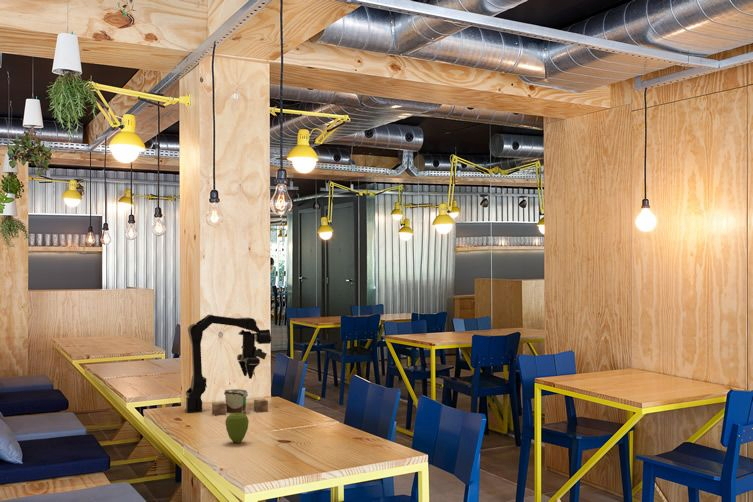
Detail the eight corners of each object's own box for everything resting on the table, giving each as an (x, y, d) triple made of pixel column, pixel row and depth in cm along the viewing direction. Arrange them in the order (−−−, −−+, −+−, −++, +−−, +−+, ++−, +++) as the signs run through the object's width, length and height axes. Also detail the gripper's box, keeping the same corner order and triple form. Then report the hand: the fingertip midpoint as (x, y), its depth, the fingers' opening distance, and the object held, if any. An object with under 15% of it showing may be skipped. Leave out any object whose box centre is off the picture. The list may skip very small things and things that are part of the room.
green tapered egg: (223, 441, 270) (223, 410, 271) (246, 439, 273) (246, 408, 274) (227, 446, 262) (227, 414, 262) (250, 444, 265) (250, 412, 266)
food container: (253, 412, 324) (253, 390, 324) (244, 415, 319) (244, 392, 319) (233, 410, 331) (233, 388, 331) (224, 412, 325) (224, 390, 326)
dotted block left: (214, 415, 318) (214, 404, 318) (212, 413, 322) (212, 402, 322) (225, 414, 320) (225, 403, 320) (223, 413, 324) (223, 401, 324)
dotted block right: (257, 412, 325) (257, 401, 325) (254, 410, 329) (254, 399, 329) (267, 411, 327) (267, 400, 327) (264, 409, 331) (264, 398, 332)
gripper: (270, 345, 334) (270, 379, 334) (259, 342, 351) (258, 374, 351) (247, 346, 330) (246, 380, 329) (237, 342, 346) (236, 375, 346)
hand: (247, 377), depth 339 cm, fingers open, 9 cm apart
